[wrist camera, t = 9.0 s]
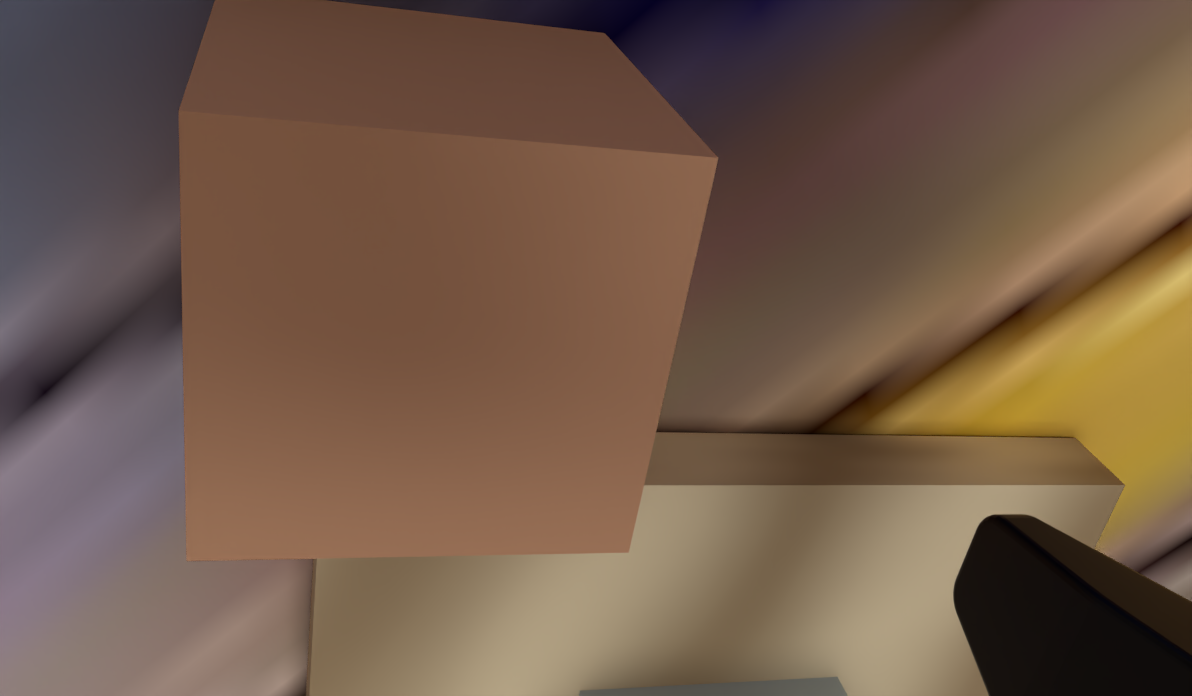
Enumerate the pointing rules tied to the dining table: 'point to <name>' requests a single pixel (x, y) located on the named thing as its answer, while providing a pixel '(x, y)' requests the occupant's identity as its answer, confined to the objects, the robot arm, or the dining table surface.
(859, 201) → the dining table surface
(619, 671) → the birch base
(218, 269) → the terracotta block
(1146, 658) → the robot arm
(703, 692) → the gray block
